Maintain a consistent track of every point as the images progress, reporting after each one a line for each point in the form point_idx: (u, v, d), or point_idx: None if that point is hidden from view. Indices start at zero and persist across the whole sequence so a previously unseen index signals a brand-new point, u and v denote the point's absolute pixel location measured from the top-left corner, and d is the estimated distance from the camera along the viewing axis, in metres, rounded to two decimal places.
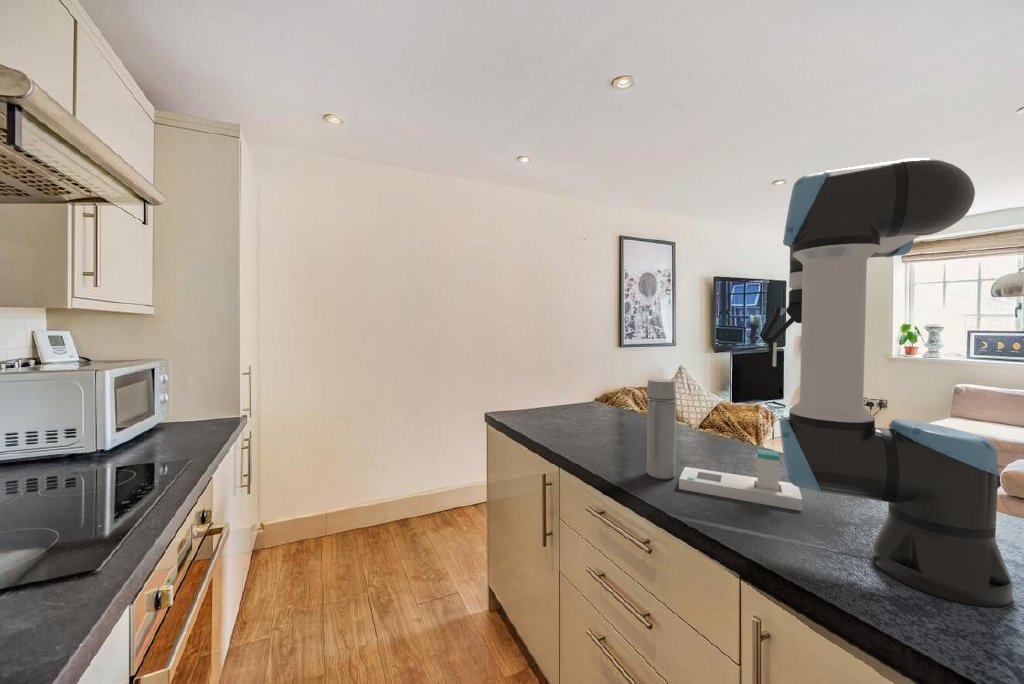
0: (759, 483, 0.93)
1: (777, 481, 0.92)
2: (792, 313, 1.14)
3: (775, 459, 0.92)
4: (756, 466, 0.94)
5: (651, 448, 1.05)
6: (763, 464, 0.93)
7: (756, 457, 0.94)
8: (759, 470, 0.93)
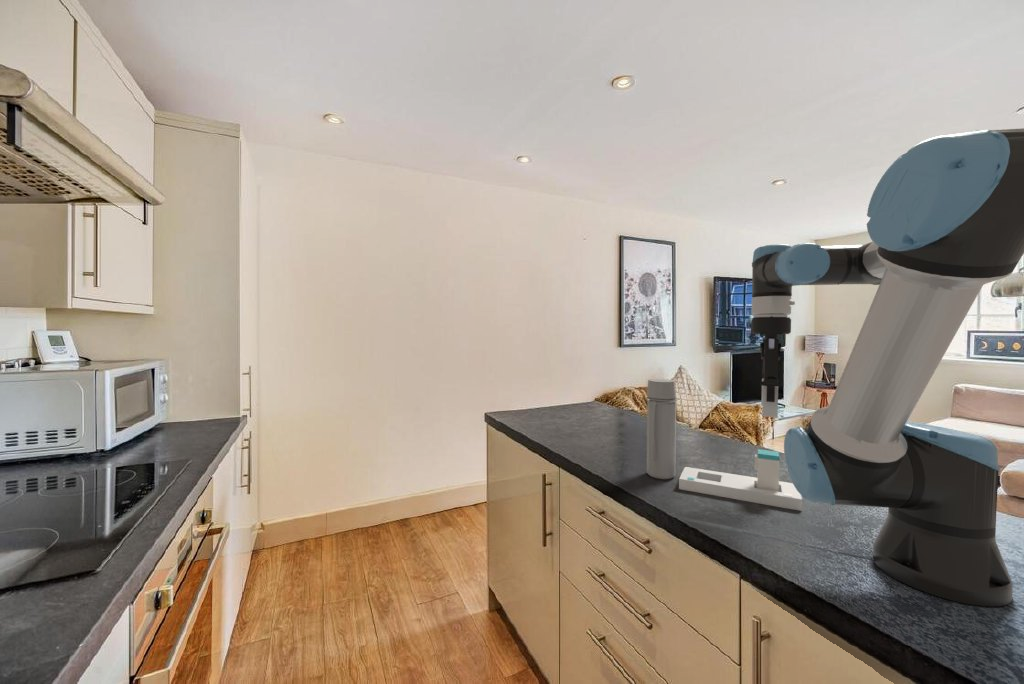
0: (759, 483, 0.93)
1: (777, 481, 0.92)
2: None
3: (775, 459, 0.92)
4: (756, 466, 0.94)
5: (651, 448, 1.05)
6: (763, 464, 0.93)
7: (756, 457, 0.94)
8: (759, 470, 0.93)
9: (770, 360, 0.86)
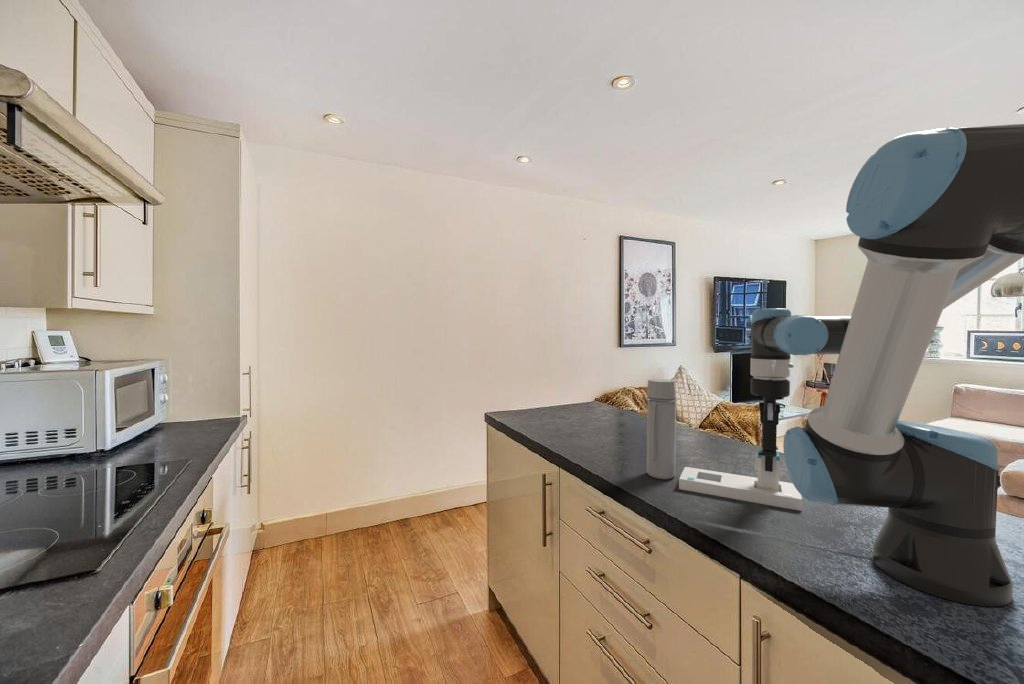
0: (759, 483, 0.93)
1: (777, 481, 0.92)
2: None
3: None
4: (756, 466, 0.94)
5: (651, 448, 1.05)
6: None
7: (756, 457, 0.94)
8: (759, 470, 0.93)
9: (768, 433, 0.89)
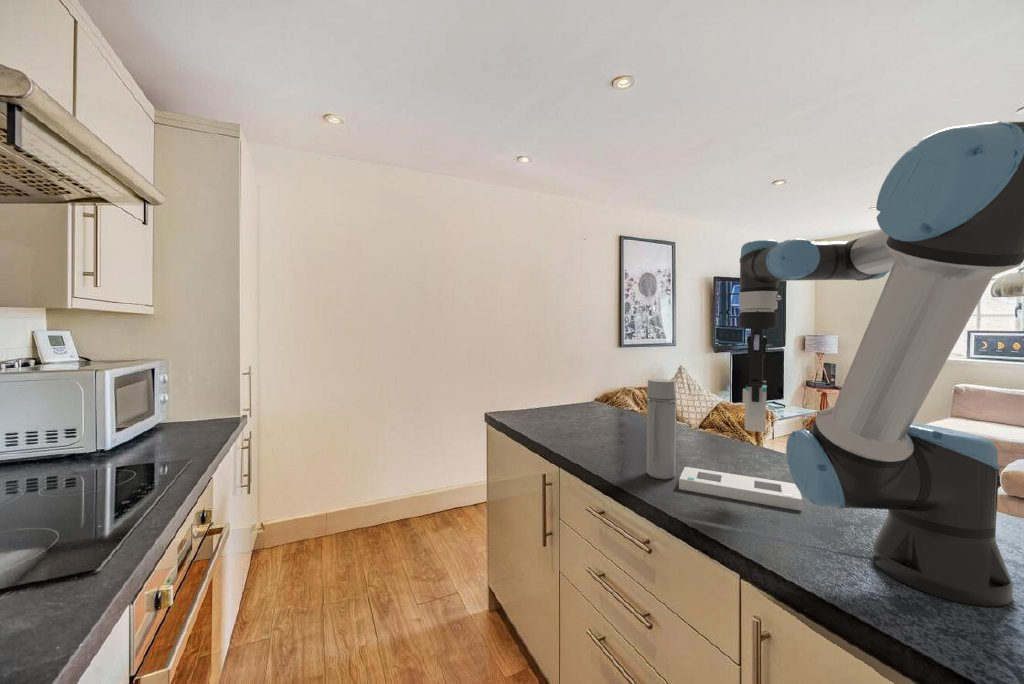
0: (746, 415, 0.95)
1: (764, 412, 0.93)
2: None
3: None
4: (744, 399, 0.96)
5: (651, 448, 1.05)
6: None
7: (744, 390, 0.96)
8: (746, 402, 0.95)
9: (755, 363, 0.90)
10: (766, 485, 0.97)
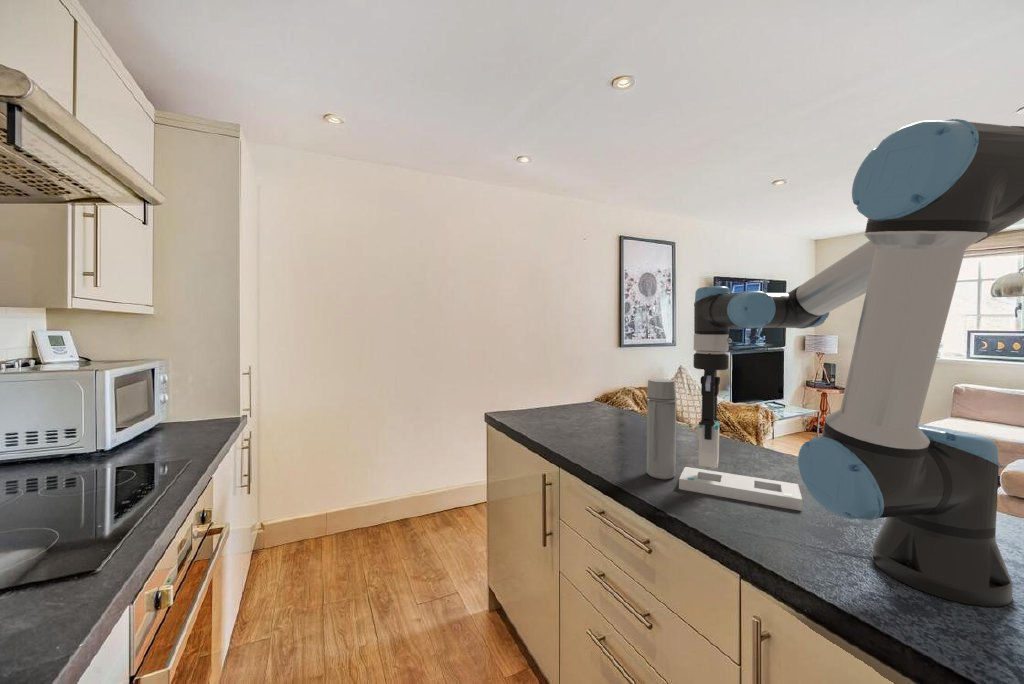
0: (700, 451, 0.99)
1: (716, 449, 0.98)
2: None
3: None
4: (698, 435, 1.00)
5: (651, 448, 1.05)
6: None
7: (698, 427, 1.00)
8: (700, 439, 0.99)
9: (706, 403, 0.95)
10: (766, 485, 0.97)
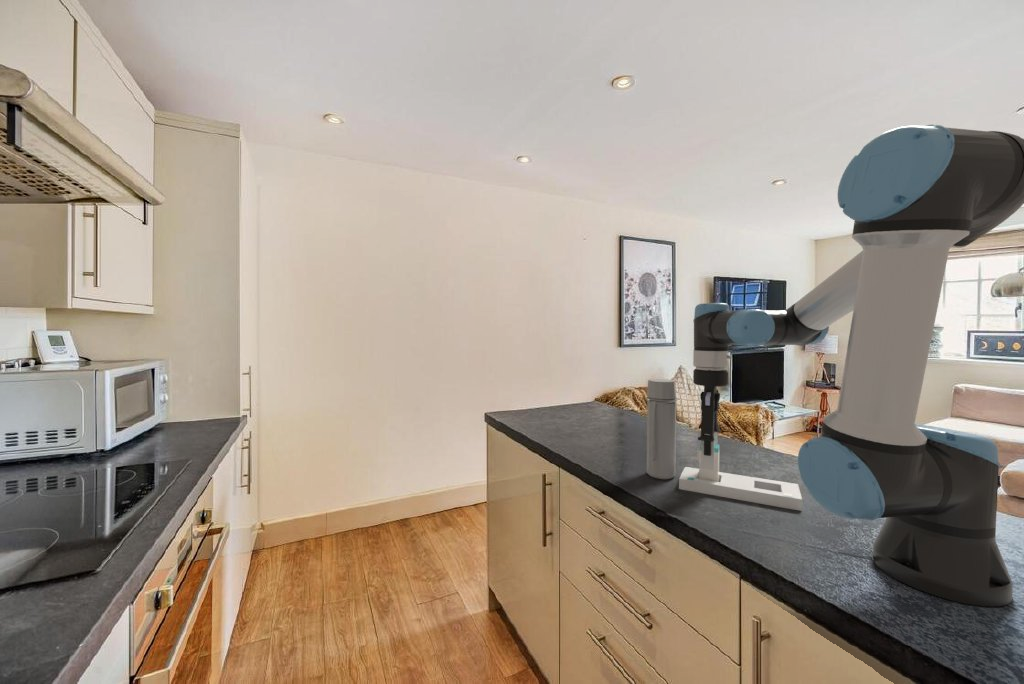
0: (700, 474, 0.99)
1: (716, 472, 0.98)
2: None
3: (714, 451, 0.98)
4: (698, 458, 1.00)
5: (651, 448, 1.05)
6: None
7: (698, 449, 1.00)
8: (700, 461, 0.99)
9: (706, 417, 0.94)
10: (766, 485, 0.97)
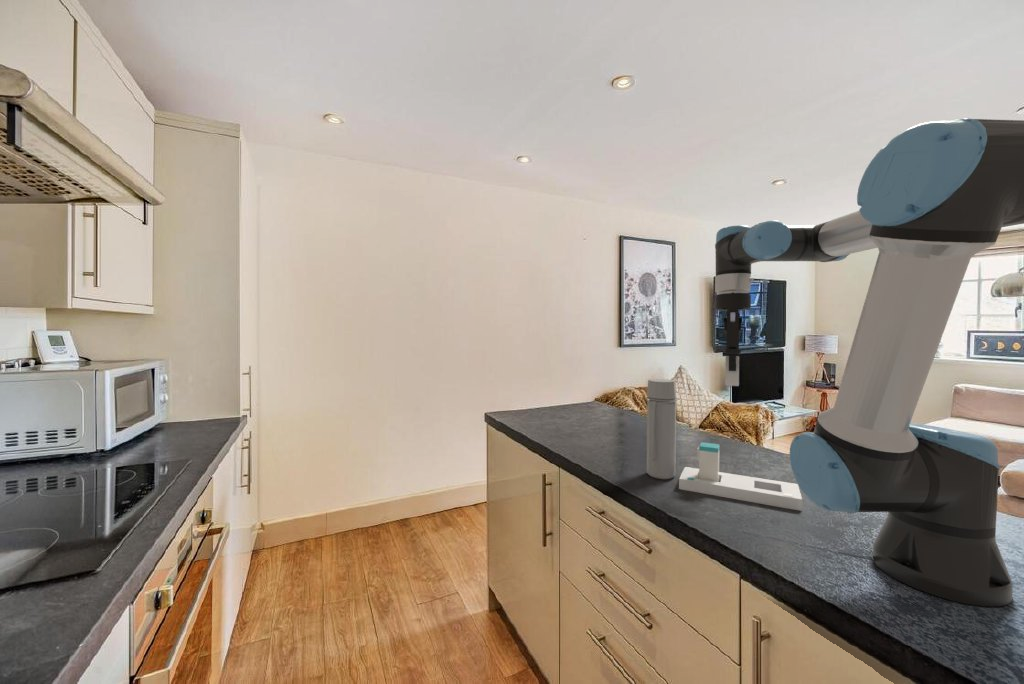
0: (700, 474, 0.99)
1: (716, 472, 0.98)
2: None
3: (714, 451, 0.98)
4: (698, 458, 1.00)
5: (651, 448, 1.05)
6: (704, 455, 0.99)
7: (698, 449, 1.00)
8: (700, 461, 0.99)
9: (731, 332, 0.93)
10: (766, 485, 0.97)
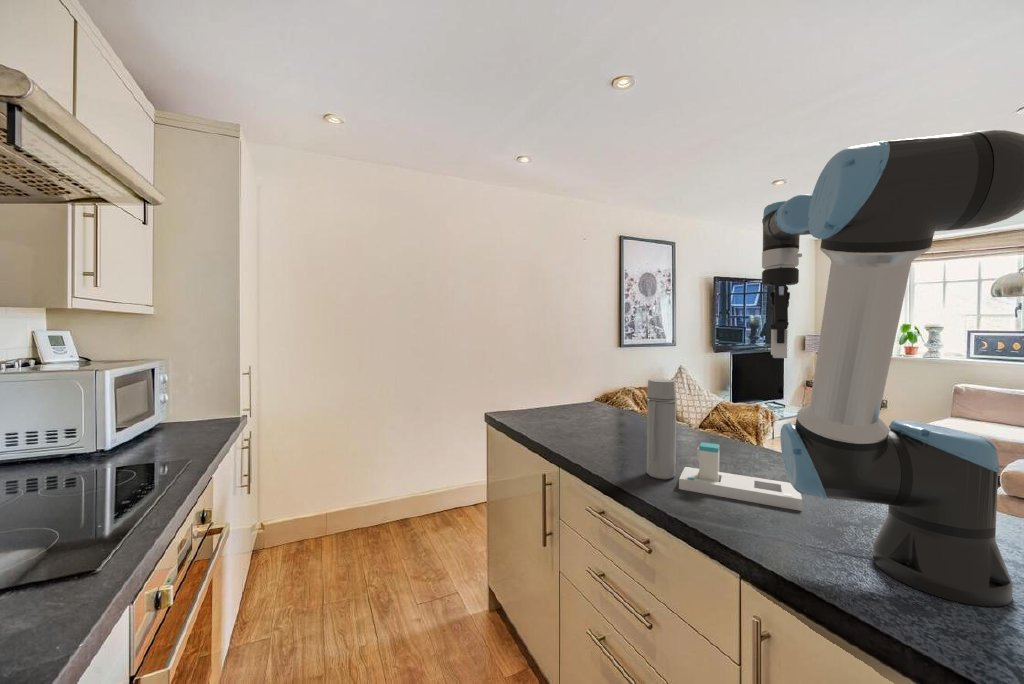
0: (700, 474, 0.99)
1: (716, 472, 0.98)
2: None
3: (714, 451, 0.98)
4: (698, 458, 1.00)
5: (651, 448, 1.05)
6: (704, 455, 0.99)
7: (698, 449, 1.00)
8: (700, 461, 0.99)
9: (780, 305, 0.95)
10: (766, 485, 0.97)
